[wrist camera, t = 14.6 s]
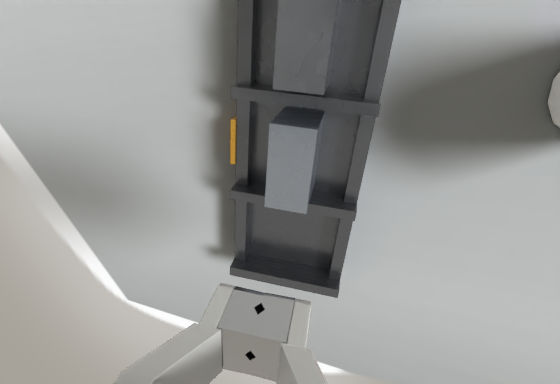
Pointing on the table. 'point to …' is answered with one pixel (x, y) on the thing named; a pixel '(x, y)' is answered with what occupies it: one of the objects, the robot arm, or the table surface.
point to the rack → (335, 133)
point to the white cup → (555, 100)
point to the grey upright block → (293, 158)
